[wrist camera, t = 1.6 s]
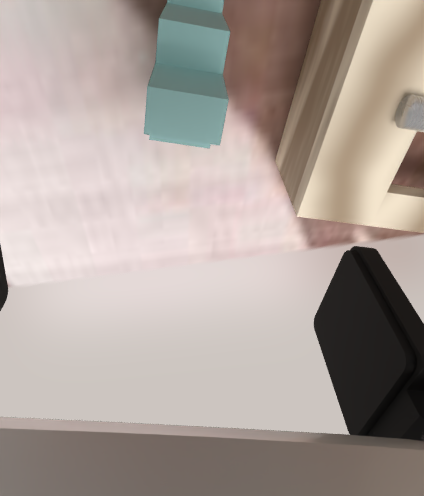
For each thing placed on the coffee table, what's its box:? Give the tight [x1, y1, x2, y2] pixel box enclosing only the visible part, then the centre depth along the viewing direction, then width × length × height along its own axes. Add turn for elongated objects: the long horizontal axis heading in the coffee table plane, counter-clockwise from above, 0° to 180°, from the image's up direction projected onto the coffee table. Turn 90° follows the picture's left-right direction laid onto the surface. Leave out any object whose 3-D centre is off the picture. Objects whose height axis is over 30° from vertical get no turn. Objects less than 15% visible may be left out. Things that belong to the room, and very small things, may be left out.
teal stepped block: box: [144, 0, 230, 148], centre depth 26 cm, size 4×9×15 cm, turn 170°
